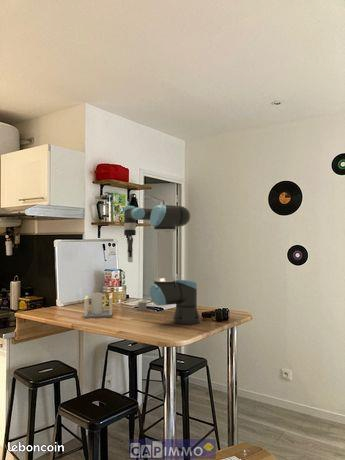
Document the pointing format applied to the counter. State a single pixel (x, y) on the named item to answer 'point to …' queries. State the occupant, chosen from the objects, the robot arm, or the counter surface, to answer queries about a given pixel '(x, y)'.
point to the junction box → (142, 305)
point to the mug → (97, 303)
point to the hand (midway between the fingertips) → (130, 261)
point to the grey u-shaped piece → (105, 314)
